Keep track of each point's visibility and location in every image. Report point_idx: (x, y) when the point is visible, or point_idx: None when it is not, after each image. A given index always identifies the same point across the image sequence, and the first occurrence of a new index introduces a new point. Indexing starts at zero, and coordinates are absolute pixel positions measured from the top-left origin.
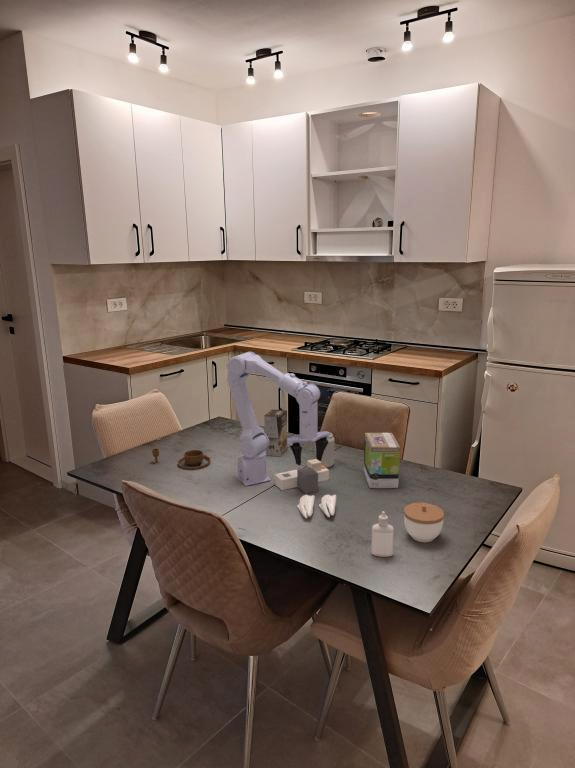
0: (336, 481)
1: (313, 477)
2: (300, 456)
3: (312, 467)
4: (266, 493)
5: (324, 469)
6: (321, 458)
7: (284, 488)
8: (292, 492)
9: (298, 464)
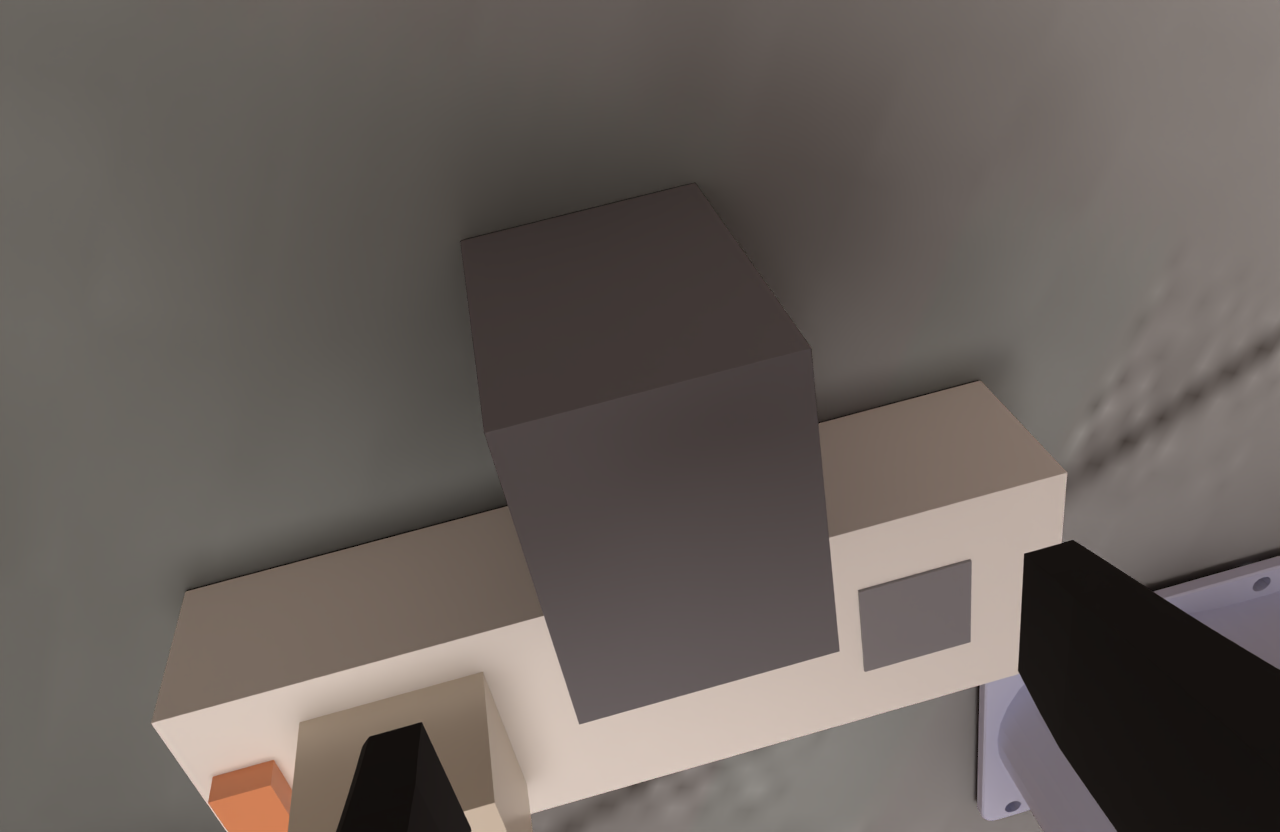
0: (54, 533)
1: (592, 357)
2: (1256, 738)
3: (483, 745)
4: (1199, 330)
5: (235, 749)
6: (360, 794)
7: (946, 402)
8: (867, 289)
9: (1100, 558)
